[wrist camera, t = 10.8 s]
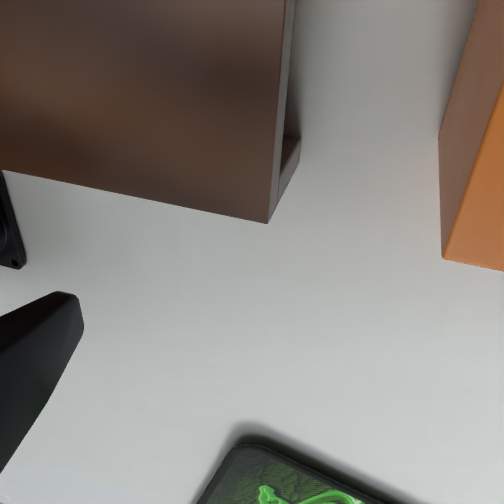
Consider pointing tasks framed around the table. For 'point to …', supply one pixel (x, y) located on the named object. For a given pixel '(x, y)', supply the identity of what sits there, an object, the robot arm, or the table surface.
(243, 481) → the mouse mat
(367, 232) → the table surface
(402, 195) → the table surface
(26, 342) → the robot arm
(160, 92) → the shelf
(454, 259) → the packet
